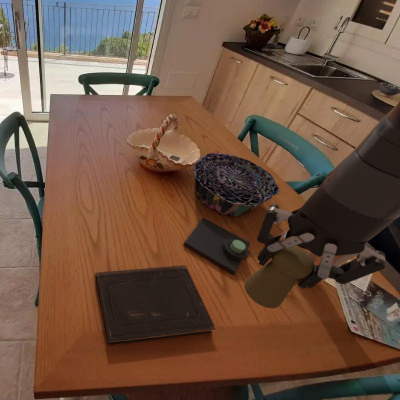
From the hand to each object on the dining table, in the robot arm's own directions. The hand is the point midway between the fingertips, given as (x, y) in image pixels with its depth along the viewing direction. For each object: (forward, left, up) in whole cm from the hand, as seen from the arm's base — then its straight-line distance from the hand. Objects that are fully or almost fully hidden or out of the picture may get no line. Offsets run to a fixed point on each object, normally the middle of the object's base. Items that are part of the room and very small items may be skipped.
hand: (281, 272), depth 43 cm
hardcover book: (+15, +6, -23) cm, 28 cm away
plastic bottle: (-11, -28, -23) cm, 38 cm away
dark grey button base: (+10, -22, -23) cm, 33 cm away
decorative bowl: (+16, -46, -23) cm, 54 cm away
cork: (0, 0, -7) cm, 7 cm away
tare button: (+5, -22, -20) cm, 30 cm away
